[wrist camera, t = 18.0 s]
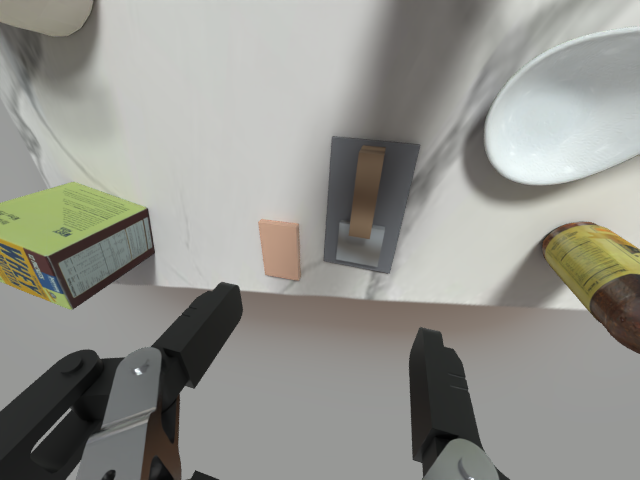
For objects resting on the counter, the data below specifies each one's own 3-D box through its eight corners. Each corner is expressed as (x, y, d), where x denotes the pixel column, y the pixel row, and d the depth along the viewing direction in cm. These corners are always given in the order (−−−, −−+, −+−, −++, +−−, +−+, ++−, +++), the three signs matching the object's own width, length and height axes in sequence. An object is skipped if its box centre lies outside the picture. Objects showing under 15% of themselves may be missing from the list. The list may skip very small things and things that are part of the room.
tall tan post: (348, 143, 30) (342, 150, 27) (401, 149, 29) (401, 156, 26) (337, 255, 39) (331, 271, 35) (377, 263, 37) (375, 280, 34)
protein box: (72, 180, 46) (-56, 217, 33) (148, 207, 44) (46, 256, 31) (88, 229, 51) (-16, 276, 39) (156, 254, 50) (72, 312, 37)
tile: (258, 222, 39) (265, 274, 44) (296, 227, 37) (298, 280, 42) (263, 217, 40) (269, 269, 45) (299, 222, 39) (301, 274, 44)
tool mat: (333, 136, 31) (332, 137, 30) (419, 144, 29) (420, 145, 28) (324, 258, 40) (323, 260, 40) (389, 271, 38) (389, 273, 38)
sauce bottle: (614, 249, 29) (897, 460, 13) (549, 271, 32) (709, 464, 16) (593, 205, 28) (886, 380, 11) (527, 232, 31) (680, 402, 14)
